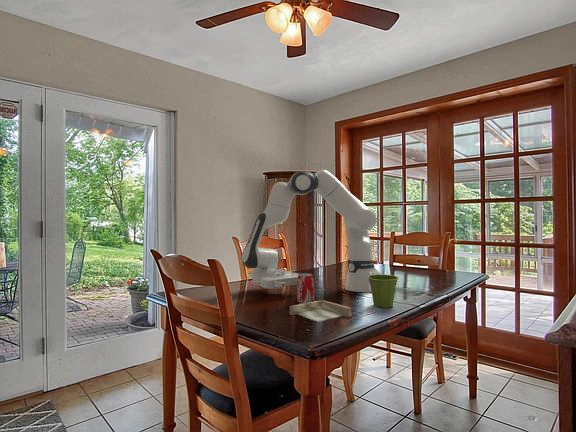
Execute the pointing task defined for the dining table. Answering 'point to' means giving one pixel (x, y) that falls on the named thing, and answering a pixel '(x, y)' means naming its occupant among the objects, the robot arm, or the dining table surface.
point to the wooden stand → (320, 310)
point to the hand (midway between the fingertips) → (292, 283)
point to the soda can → (305, 288)
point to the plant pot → (383, 289)
